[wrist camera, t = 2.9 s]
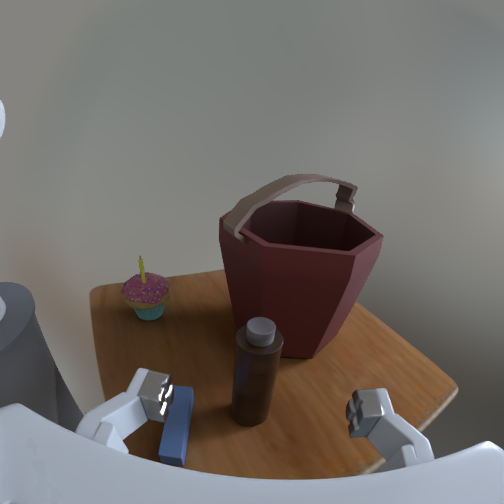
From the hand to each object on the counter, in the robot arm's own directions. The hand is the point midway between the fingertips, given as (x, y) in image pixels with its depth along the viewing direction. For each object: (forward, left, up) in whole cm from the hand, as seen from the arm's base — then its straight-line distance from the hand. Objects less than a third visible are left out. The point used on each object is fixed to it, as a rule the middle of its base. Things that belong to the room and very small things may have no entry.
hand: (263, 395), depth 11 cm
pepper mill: (+7, +10, -19) cm, 23 cm away
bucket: (+22, +22, -19) cm, 36 cm away
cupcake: (+1, +35, -20) cm, 40 cm away
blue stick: (-2, +11, -19) cm, 23 cm away
